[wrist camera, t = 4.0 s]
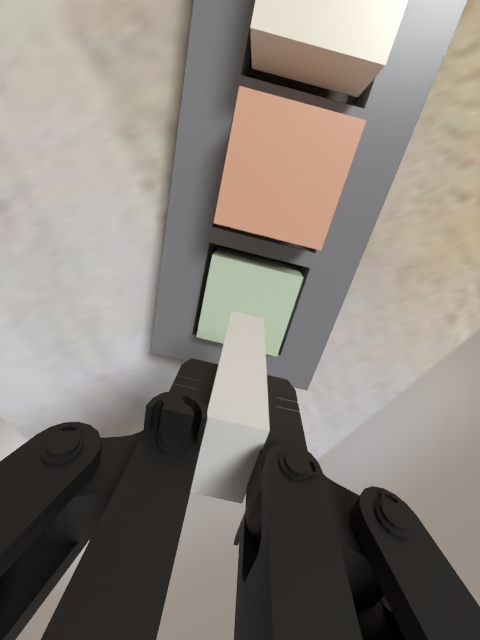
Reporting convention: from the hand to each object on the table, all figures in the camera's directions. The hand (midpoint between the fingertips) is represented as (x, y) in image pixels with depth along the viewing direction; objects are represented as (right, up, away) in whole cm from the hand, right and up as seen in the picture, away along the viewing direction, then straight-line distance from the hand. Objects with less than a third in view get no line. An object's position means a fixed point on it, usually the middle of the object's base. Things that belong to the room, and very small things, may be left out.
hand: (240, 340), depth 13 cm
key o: (+1, +3, +9) cm, 9 cm away
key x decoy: (+2, +9, +4) cm, 11 cm away
